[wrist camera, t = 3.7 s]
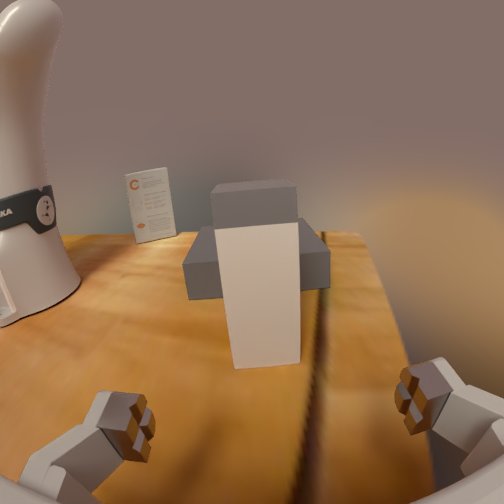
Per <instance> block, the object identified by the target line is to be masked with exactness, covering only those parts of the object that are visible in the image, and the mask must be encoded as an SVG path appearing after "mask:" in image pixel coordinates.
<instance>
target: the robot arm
mask: <svg viewBox="0 0 504 504" xmlns="http://www.w3.org/2000/svg"><path fill="white" fill-rule="evenodd" d="M62 29H63V15H62V12H61V10H60V9H59V7H58V6H57V5H56V4H55V3H54V2H53V1H51V0H18V1H16V2H14V3H12V4H11V5H9V6H8V7H7V8H5V9H4V10H3V12H1V14H0V199H1V200H0V327H2V326H6V325H8V324H10V323H12V322H14V321H16V320H18V319H19V318H21V317H24V316H27V315H30V314H33V313H36V312H38V311H41V310H43V309H46V308H48V307H50V306H52V305H54V304H56V303H57V302H59V301H61V300H62V299H64V298H65V297H67V296H68V295H69V294H71V293H72V292H73V291H74V290H75V289H76V288H77V287H78V285H79V284H80V281H81V278H80V276H79V275H78V273H77V272H76V270H75V268H74V266H73V265H72V263H71V261H70V258H69V256H68V254H67V252H66V249H65V247H64V244H63V241H62V239H61V236H60V233H59V230H58V227H57V223H56V207H55V202H54V197H53V191H52V186H51V185H48V177H47V169H46V160H45V149H44V132H43V129H44V113H45V105H46V99H47V93H48V86H49V80H50V73H51V67H52V62H53V57H54V53H55V50H56V46H57V44H58V41H59V38H60V36H61V33H62ZM46 185H48V186H46ZM42 186H44V187H42ZM39 187H40V188H39ZM35 188H37V189H35ZM32 189H33V190H32ZM29 190H30V191H29ZM25 191H26V192H25ZM22 192H23V193H22ZM19 193H20V194H19ZM16 194H17V195H16ZM6 197H7V198H6ZM3 198H4V199H3ZM400 379H401V382H400V383H399V384H398V385H397V386H396V390H395V404H396V407H397V409H398V411H399V412H400V413H402V414H404V415H405V419H404V423H405V425H406V427H407V429H408V431H409V433H410V435H414V434H417V433H420V432H423V431H426V430H429V429H432V430H433V431H435V432H436V433H438V434H439V435H441V436H442V437H444V438H445V439H447V440H448V441H450V442H452V443H453V444H455V445H456V446H457V447H459V448H461V449H462V450H464V451H465V452H467V453H468V454H469V455H468V457H467V458H466V459H465V460H464V461H463V463H462V465H461V467H460V468H461V470H462V472H463V474H464V475H465V478H463V479H462V480H460V481H458V482H456V483H454V484H452V485H450V486H448V487H446V488H444V489H442V490H440V491H437V492H435V493H433V494H431V495H429V496H426V497H424V498H422V499H419V500H417V501H414V502H412V503H409V504H504V399H503V398H500V397H498V396H495V395H493V394H490V393H488V392H486V391H483V390H481V389H478V388H476V387H474V386H471V385H467V386H466V385H465V384H464V383H463V382H462V380H461V379H460V378H459V376H458V375H457V374H456V372H455V371H454V370H453V369H452V367H451V366H450V365H449V364H448V362H447V361H446V360H445V359H444V358H442V357H440V358H436V359H433V360H430V361H426V362H423V363H420V364H416V365H413V366H409V367H406V368H403V370H402V371H401V373H400ZM146 405H147V400H146V398H145V396H144V395H142V394H134V393H124V392H115V391H106V390H101V391H99V392H98V393H97V395H96V397H95V399H94V401H93V403H92V405H91V407H90V409H89V411H88V413H87V415H86V418H85V420H84V422H83V424H78V425H76V426H75V427H73V428H72V429H70V430H69V431H67V432H66V433H64V434H63V435H61V436H60V437H58V438H57V439H55V440H54V441H52V442H51V443H49V444H47V445H46V446H44V447H43V448H41V449H40V450H38V451H36V452H35V453H33V454H32V455H31V456H30V458H29V460H28V462H27V464H26V466H25V468H24V470H23V472H22V474H21V476H20V479H19V481H18V483H16V482H14V481H12V480H10V479H8V478H7V477H5V476H3V475H1V474H0V504H102V503H101V502H100V501H99V500H98V499H97V498H96V497H94V496H93V495H92V494H91V493H92V492H93V491H94V490H95V489H96V488H97V487H98V486H99V485H100V484H101V483H102V482H103V481H104V480H105V479H106V478H108V477H109V476H110V475H111V474H112V473H113V472H114V471H115V470H116V469H117V468H118V467H119V466H120V465H121V464H122V463H123V462H124V461H123V460H127V461H135V462H144V463H147V462H148V458H149V454H150V450H151V446H150V444H149V443H148V441H149V440H150V439H152V438H153V437H154V433H155V418H154V415H153V413H152V411H151V410H150V409H149V408H147V407H146Z"/></svg>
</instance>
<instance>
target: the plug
mask: <svg viewBox="0 0 504 504" xmlns="http://www.w3.org/2000/svg"><path fill="white" fill-rule="evenodd" d="M210 196H211V205H212V214H213V222H214V230H215V238H216V246H217V254H218V262H219V269H220V276H221V284H222V291H223V298H224V305H225V312H226V318H227V325H228V332H229V338H230V345H231V351H232V357H233V363H234V369H246V368H259V367H270V366H280V365H289V364H298V363H300V267H299V236H298V214H297V195H296V186H295V185H293V184H292V183H290V182H289V181H287V180H286V179H274V180H261V181H260V180H259V181H248V182H236V183H227V184H218V185H217V186H216V187H215V188H214V190H213V191H212V192H211V194H210Z"/></svg>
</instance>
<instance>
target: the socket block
mask: <svg viewBox="0 0 504 504" xmlns="http://www.w3.org/2000/svg"><path fill="white" fill-rule="evenodd" d="M298 236H299V267H300V291H302V290H311V289H320V288H329V287H330V250H329V249H328V248H327V246H326V245H325V244H324V243H323V241H322V240H321V239H320V238H319V237H318V235H317V234H316V233H315V232H314V231H313V230H312V228H311V227H310V226H309V225H308V224H307V223H306V221H305V220H304V219H303V218H298ZM182 265H183V271H184V276H185V281H186V287H187V292H188V297H189V300H196V299H211V298H223V291H222V284H221V276H220V269H219V262H218V254H217V246H216V238H215V230H214V226H205V227H202V228H201V230H200V231H199V233H198V235H197V237H196V239H195V241H194V243H193V245H192V246H191V248H190V250H189V252H188V254H187V256H186V258H185V260H184V262H183V264H182Z"/></svg>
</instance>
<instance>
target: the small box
mask: <svg viewBox="0 0 504 504" xmlns="http://www.w3.org/2000/svg"><path fill="white" fill-rule="evenodd" d="M124 177H125V183H126V190H127V196H128V202H129V208H130V214H131V220H132V225H133V230H134V235H135V240H136V243H137V244H139V243H144V242H148V241H153V240H158V239H162V238H167V237H172V236H177V233H176V227H175V220H174V213H173V206H172V199H171V193H170V185H169V178H168V170H167V168H158V169H152V170H146V171H141V172H136V173H132V174H127V175H125V176H124Z"/></svg>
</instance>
